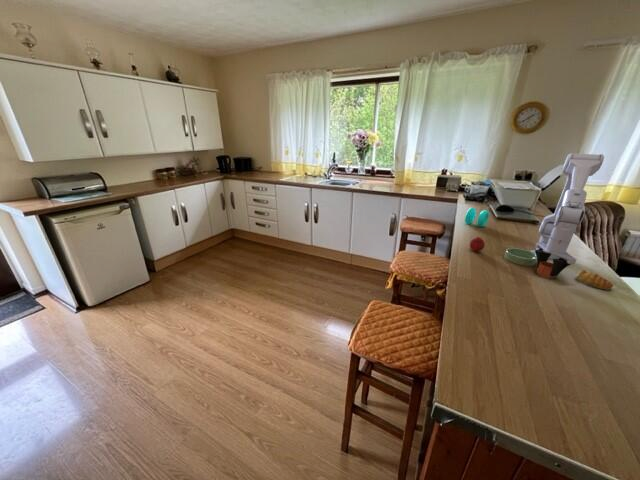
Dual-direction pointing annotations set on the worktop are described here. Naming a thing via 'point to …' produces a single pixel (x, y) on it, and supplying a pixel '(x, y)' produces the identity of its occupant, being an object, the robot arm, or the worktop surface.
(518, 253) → the big bowl
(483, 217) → the pair of cyan ovals
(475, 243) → the onion
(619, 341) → the worktop surface
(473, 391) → the worktop surface
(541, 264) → the small bowl
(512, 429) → the worktop surface
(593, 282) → the pastry
